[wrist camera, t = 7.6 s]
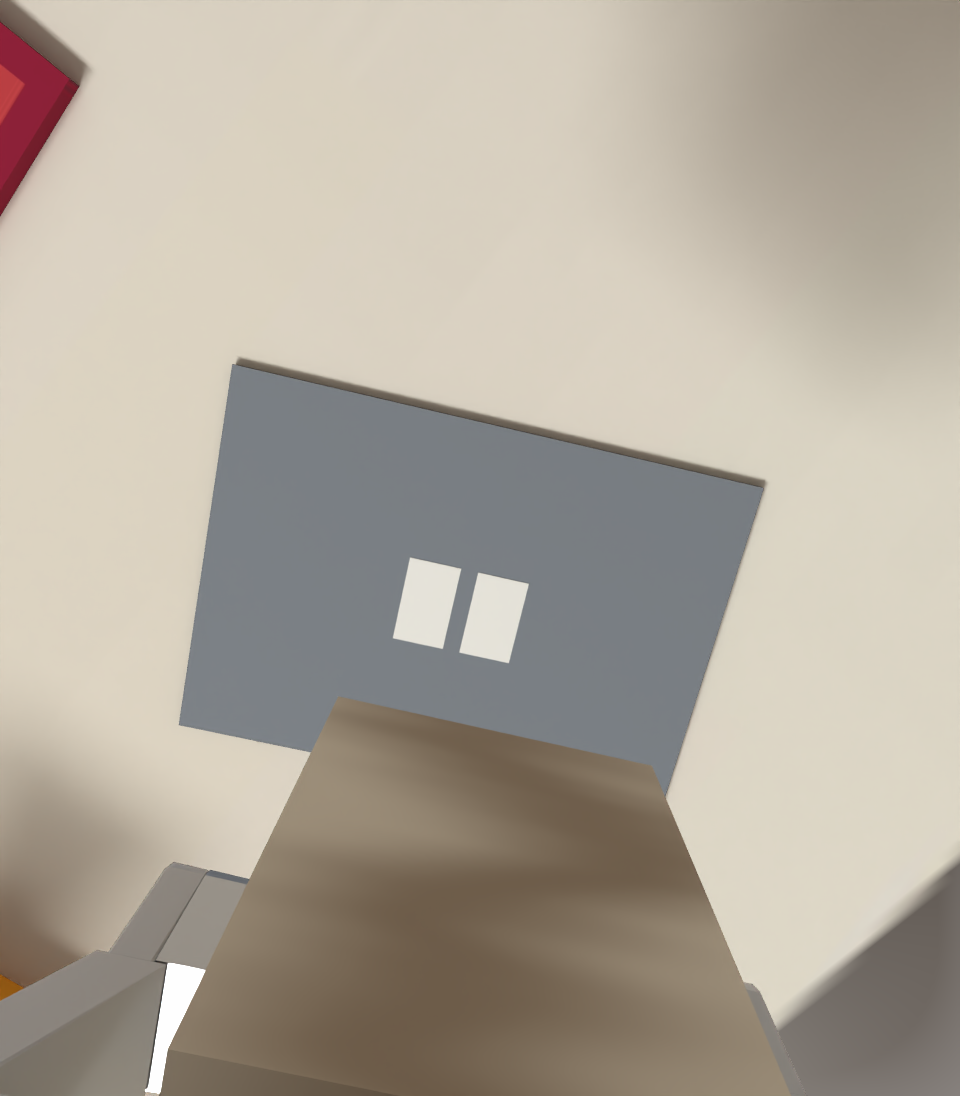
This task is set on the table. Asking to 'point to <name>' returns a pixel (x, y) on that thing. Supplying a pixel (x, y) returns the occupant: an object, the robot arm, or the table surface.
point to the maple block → (470, 933)
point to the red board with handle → (26, 108)
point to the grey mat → (453, 576)
